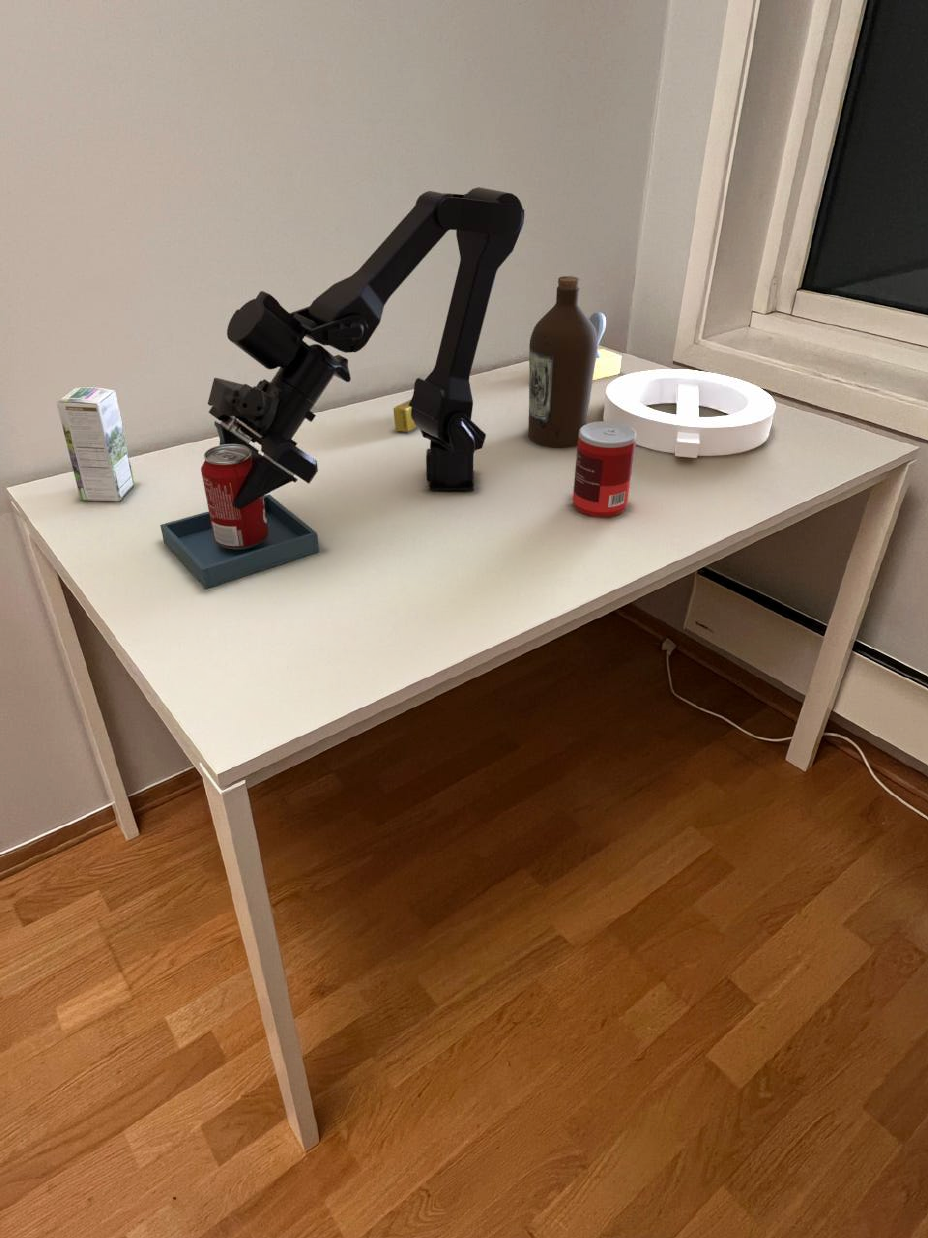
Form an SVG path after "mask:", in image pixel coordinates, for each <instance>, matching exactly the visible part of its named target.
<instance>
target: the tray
mask: <svg viewBox="0 0 928 1238" xmlns="http://www.w3.org/2000/svg"><path fill="white" fill-rule="evenodd" d="M263 499H264V506H265V513H266V519H267V526H268V537H267V538H266V539H265V540H264V541H263V542H262V543H260V544H258V545H257V546H255V547H253V548H250V549H245V550H231V549H227V548H224V547H221V546H219V545H218V544H216V542H215V540H214V536H213V531H212V525H211V520H210V515H209V510H208V511H205V512H201V513H198V514H194V515H191V516H186V517H184V518H180V519H176V520H173V521H169V522H166V523H163V524H160V525H159V526H160V530H161V535H162V539H163V540H162V541H163V544H164V545H165V546H166V547H167V548H168V549H169V550H170V552H172V553H173V555H174V556H175V557H176V558H177V559H178V560H179V562H181V563H182V565H183V566H184V567H185V568H186V569H187V570H188V572H190V573H191V574H192V576H193V577H194V578H195V579H196V580H197V581H198V582H199V583H200V584H201V585H202V586H203V588H205V590H207V589H210V588H213V587H216V586H220V585H222V584H225V583H229V582H231V581H234V580H238V579H240V578H243V577H246V576H249V575H253V574H255V573H259V572H262V571H265V570H268V569H271V568H274V567H277V566H280V565H284V564H286V563H289V562H292V561H296V560H298V559H302V558H304V557H308V556H311V555H313V554H317V553H319V552H320V543H319V535H318V532H317V531H315V530H314V529H313V528H311V526H310V525H308V524H307V523H306V522H304V521H303V520H302V519H301V518H299V516H297V515H296V514H294V512H292V511H291V510H290V509H288V508H287V507H286V506H284V505H283V503H281V502H279V501H278V499H276V498H275V497H274V496H272V495H271V494H266V495H264V496H263Z"/></svg>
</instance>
